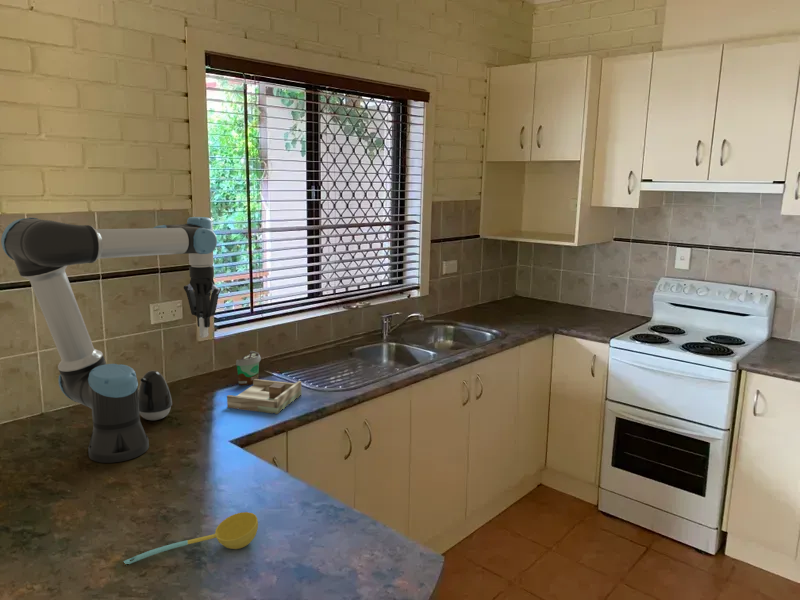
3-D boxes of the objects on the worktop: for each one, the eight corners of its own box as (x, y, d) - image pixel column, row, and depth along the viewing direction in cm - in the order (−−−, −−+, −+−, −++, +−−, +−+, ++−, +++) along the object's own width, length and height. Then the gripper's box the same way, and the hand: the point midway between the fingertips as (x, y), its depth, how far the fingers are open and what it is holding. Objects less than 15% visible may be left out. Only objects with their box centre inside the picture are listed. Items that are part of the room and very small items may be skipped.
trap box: (277, 414, 197) (276, 399, 196) (227, 407, 202) (226, 393, 201) (301, 395, 214) (301, 381, 213) (254, 389, 219) (254, 376, 218)
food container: (252, 388, 221) (251, 361, 219) (236, 386, 222) (235, 360, 220) (266, 377, 232) (266, 351, 230) (251, 375, 234) (250, 350, 232)
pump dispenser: (130, 422, 190) (126, 374, 187) (151, 409, 200) (147, 364, 197) (159, 425, 188) (156, 377, 184) (179, 412, 197) (176, 367, 194)
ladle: (265, 548, 126) (258, 525, 125) (130, 599, 120) (120, 575, 118) (260, 523, 134) (253, 501, 133) (133, 570, 128) (124, 547, 126)
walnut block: (280, 399, 204) (279, 388, 204) (269, 398, 205) (268, 386, 205) (285, 395, 208) (285, 384, 207) (274, 394, 209) (274, 382, 208)
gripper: (225, 265, 200) (227, 336, 205) (191, 262, 204) (194, 332, 209) (211, 268, 193) (214, 341, 198) (176, 265, 197) (180, 337, 202)
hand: (204, 336), depth 203 cm, fingers closed
